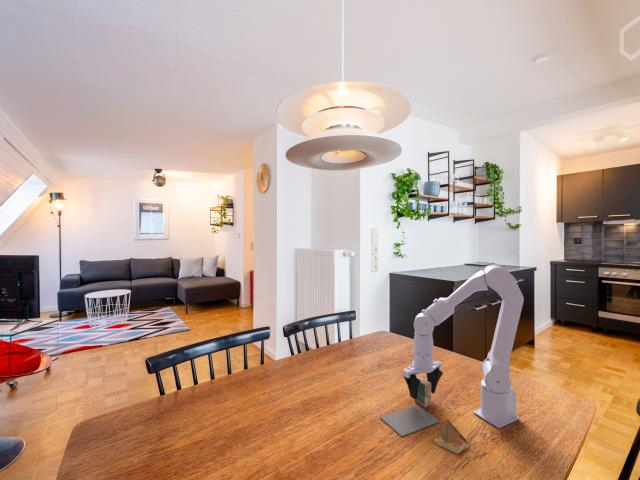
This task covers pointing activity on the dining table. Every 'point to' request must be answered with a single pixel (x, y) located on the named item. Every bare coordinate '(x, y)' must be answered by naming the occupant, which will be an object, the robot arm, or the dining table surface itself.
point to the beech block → (424, 392)
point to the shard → (451, 438)
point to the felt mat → (409, 420)
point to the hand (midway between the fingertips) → (422, 394)
